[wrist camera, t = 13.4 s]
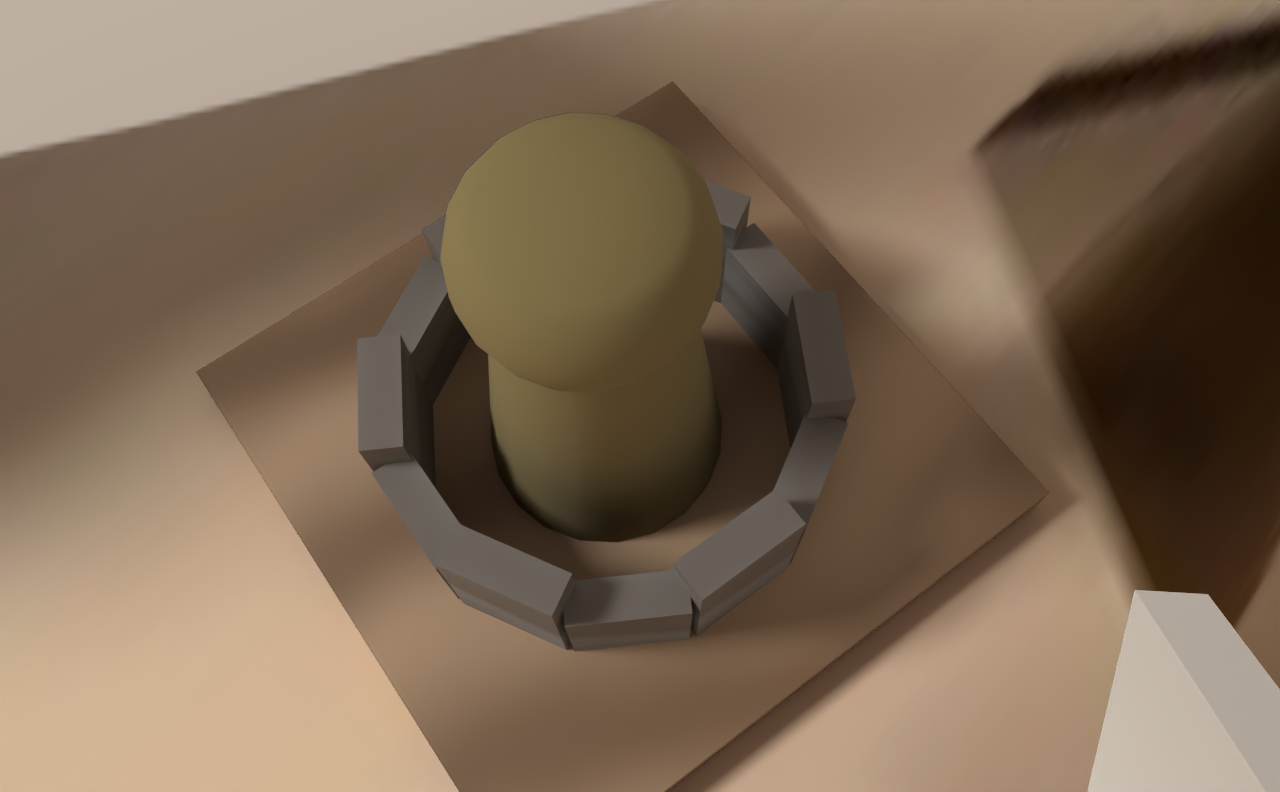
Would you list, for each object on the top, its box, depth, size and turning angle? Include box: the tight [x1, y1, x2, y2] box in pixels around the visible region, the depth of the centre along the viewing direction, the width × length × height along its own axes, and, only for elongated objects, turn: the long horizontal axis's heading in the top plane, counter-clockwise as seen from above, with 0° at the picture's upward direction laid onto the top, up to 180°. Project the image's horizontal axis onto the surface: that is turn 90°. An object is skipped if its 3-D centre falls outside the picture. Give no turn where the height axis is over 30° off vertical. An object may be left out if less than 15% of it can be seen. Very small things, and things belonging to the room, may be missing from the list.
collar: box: [197, 82, 1049, 792], centre depth 28 cm, size 16×16×5 cm
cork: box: [440, 113, 723, 542], centre depth 24 cm, size 6×6×11 cm
